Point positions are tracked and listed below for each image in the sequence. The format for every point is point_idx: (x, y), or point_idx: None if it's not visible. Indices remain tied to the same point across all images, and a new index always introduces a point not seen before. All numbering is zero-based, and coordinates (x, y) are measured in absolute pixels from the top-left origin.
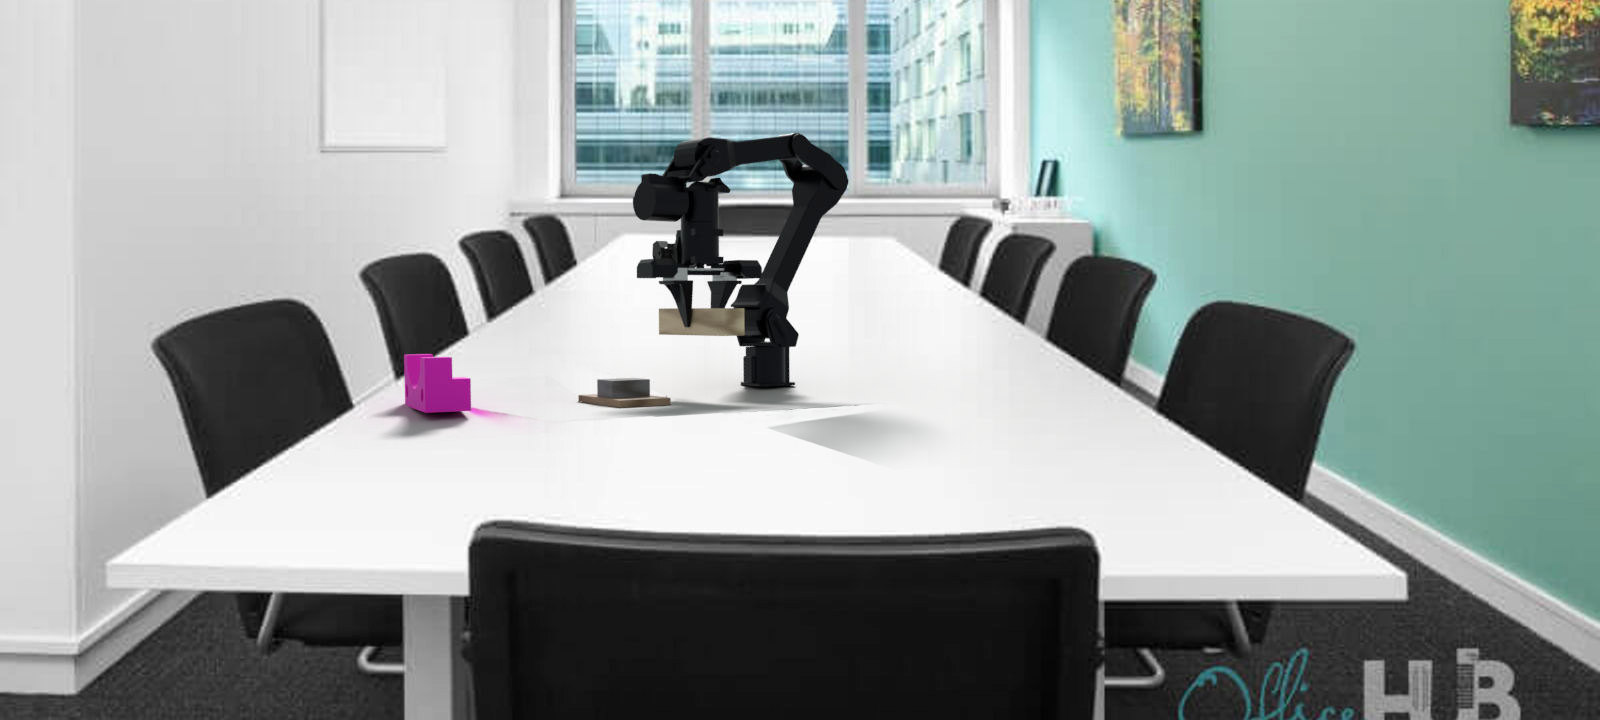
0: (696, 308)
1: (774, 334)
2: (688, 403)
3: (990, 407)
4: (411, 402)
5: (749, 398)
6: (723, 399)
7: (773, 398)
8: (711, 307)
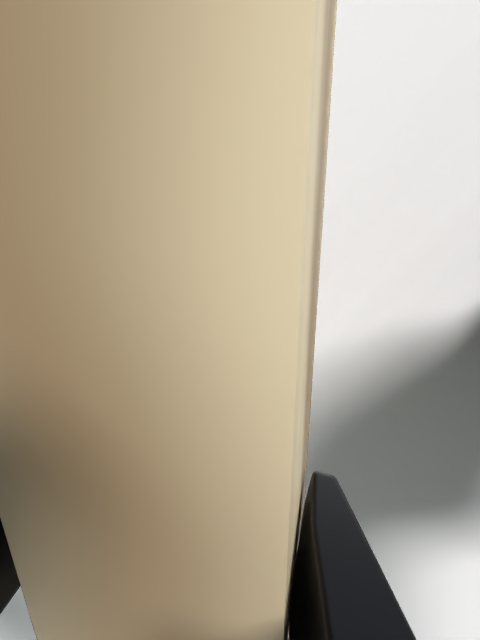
0: (39, 632)
1: None
2: None
3: None
4: None
5: (421, 381)
6: (331, 347)
7: (471, 438)
8: (318, 628)
